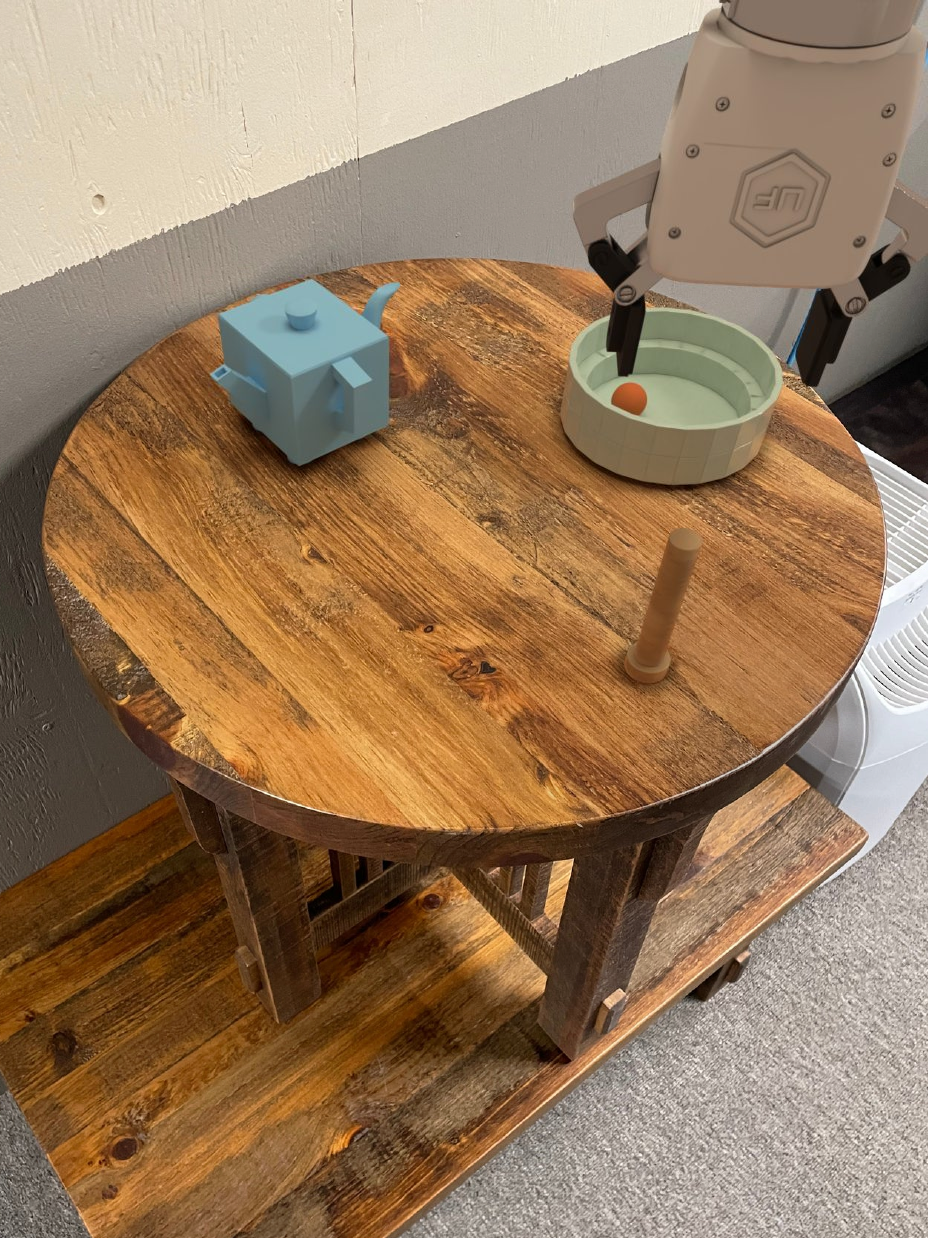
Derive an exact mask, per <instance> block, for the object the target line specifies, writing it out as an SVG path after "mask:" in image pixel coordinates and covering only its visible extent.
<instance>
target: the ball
mask: <svg viewBox="0 0 928 1238" xmlns="http://www.w3.org/2000/svg"><path fill="white" fill-rule="evenodd" d="M611 404H612V405H614V406H616V407H618V408H620V409H622V410H624V411H626V412H629V413H631V414H633V415H637V416H639V415H640V414H641V413H642V412H643V411H644V409H645V407H646V405H647V394H646V392H645V390H644V389H643V387H641V386H640V385H639V384H637V383H633V382H628V383H624V384H622V385H620V386H619V387H618V388H617V389H616V390H615V391H614V393H613V395H612V398H611Z"/></svg>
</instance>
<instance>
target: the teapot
mask: <svg viewBox="0 0 928 1238" xmlns="http://www.w3.org/2000/svg"><path fill="white" fill-rule="evenodd" d="M400 287H401V283H400V282H395V281H394V282H389V283H386V284H384V285H382V286H380V287H378V288H377V289H376V290H375V291H374V292H373V293H372V294H371V295H370V296H369V299H368V300H367V302H366V304H365V306H364V308H363V311H362V313H361V314H360V313H359V312H357V311H356V310H355V309H354V308H352V307H351V306H350V305H348V303H346V302H344V301H343V300H342V299H340V298H339V297H338V296H336V295H335V294H334V293H332V292H331V291H329V290H328V289H327V288H326V287H324V286H323V285H322V284H320V283H319V282H317V281H316V280H315V279H313V278H310V279H308V280H306V281H302V282H300V283H297V284H294V285H292V286H289V287H286V288H284V289H281V290H277V291H275V292H273V293H270V294H268V293H261V294H258V295H256V296H254V297H252V298H251V299H250V301H249V302H246V303H244V304H241V305H239V306H236V307H234V308H231V309H228V310H226V311H222V312H219V313H218V314H217V322H218V328H219V334H220V335H219V336H220V342H221V348H222V356H223V364H221V365H220V366H219V367H218V368H216V369H215V370H214V371H212V372H210V374H209V377H211V378H212V380H213V381H215V382H216V383H217V384H218V385H219V386H221V387H222V388H223V389H225V390H226V391H227V392H228V394H229V395H228V396H229V402H230V404H231V405H232V406H234V408H236V409H237V410H238V411H239V412H240V413H241V414H242V415H243V416H244V417H245V418H246V419H247V420H248V421H250V423H252V428H254V429H255V430H256V431H259V432H261V433H262V434H263V435H264V436H266V438H268V439H269V440H270V441H271V442H272V443H273V444H274V445H275V446H276V447H277V448H278V449H280V450H281V451H282V452H283V453H284V454H285V456H287V460H288V461H289V462H290V463H291V464H294V465H295V464H296V466H298V467H300V466H303V465H306V464H309V463H311V462H312V461H313V460H315V459H318V458H320V457H322V456H324V455H326V454H329V453H330V452H333V451H335V450H338V449H340V448H342V447H344V446H347V445H349V444H351V443H353V442H355V441H357V440H362V439H364V438H365V437H366V436H368V435H371V434H373V433H375V432H377V431H379V430H382V429H383V428H384V429H385V428H386V427H388V426H389V425H390V338H389V336H388V334H386V333H385V332H383V331H382V330H381V324H382V319H383V315H384V311H385V308H386V306H387V304H388V302H389V300H390V299H391V298H392V297H393V296H394V294H396V292H398V290H399V289H400Z"/></svg>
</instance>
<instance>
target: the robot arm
mask: <svg viewBox="0 0 928 1238" xmlns="http://www.w3.org/2000/svg"><path fill="white" fill-rule="evenodd" d="M921 2H922V0H718V3H719V4H721V6H720V7H717V8H712V9H710V10H709V11H708V12H707V13H706V14H705V15H704V17H703V20H702V22H701V24H700V26H699V29H698V31H697V33H696V36H695V38H694V41H693V43H692V46H691V49H690V51H689V54H688V57H687V60H686V62H685V64H684V67H683V69H682V73H681V76H680V79H679V82H678V85H677V89H676V91H675V95H674V98H673V101H672V106H671V108H670V112H669V114H668V119H667V121H666V125H665V129H664V132H663V136H662V140H661V144H660V147H659V150H658V154H657V158H656V159H653V160H652V161H649V162H647V163H645V164H642V165H640V166H637V167H635V168H633V169H631V170H629V171H627V172H625V173H622V174H620V175H618V176H616V177H613V178H611V179H609V180H606V181H604V182H602V183H601V184H600V183H599V184H597V185H595V186H594V187H591V188H589V189H587V190H584V191H582V192H581V193H578V194H577V195H575V197H574V199H573V201H572V218H573V222H574V224H575V227H576V231H577V233H578V236H579V238H580V241H581V243H582V247H583V248H584V251H585V253H586V256H587V261H588V264H589V266H590V268H591V269H593V272H595V273H596V275H597V276H598V277H599V278H600V279H601V281H603V282H604V284H605V285H606V287H607V288H608V289H609V290H610V291H611V293H612V294H613V298H612V299H613V300H612V304H611V308H610V309H611V310H610V314H609V315H610V319H609V325H608V330H607V338H606V351H607V352H616V358H617V371H618V376H621V377H628V376H629V374H632V373H633V369H634V364H635V360H636V355H637V351H638V346H639V341H640V337H641V332H642V327H643V323H644V318H645V313H646V308H647V307H646V306H647V305H646V297H645V295H646V293H647V292H648V291H649V290H650V289H652V288H653V287H655V285H656V284H657V283H659V282H660V281H662V279H667V280H669V281H673V282H679V283H685V284H701V285H718V286H734V287H753V288H754V287H756V288H776V289H777V288H778V289H795V290H797V289H799V290H817V291H816V293H815V296H814V298H813V301H812V304H811V307H810V309H809V312H808V315H807V318H806V321H805V323H804V326H803V329H802V332H801V334H800V337H799V340H798V343H797V346H796V349H795V352H794V357H795V362H796V366H797V369H798V372H799V376H800V380H801V384H803V385H805V387H807V388H817V387H819V385H820V382H821V379H822V377H823V374H824V372H825V369H826V366H827V364H828V365H833V364H834V363H836V361H837V358H838V356H839V354H840V351H841V348H842V346H843V343H844V341H845V338H846V336H847V334H848V331H849V328H850V325H851V323H852V321H853V318H856V317H859V316H861V315H863V314H864V313H865V312H866V311H867V309H868V307H869V305H870V302H871V301H873V300H874V299H876V298H878V297H880V296H881V295H883V294H884V293H885V292H887V291H889V290H890V289H892V288H893V287H895V286H897V285H899V284H900V283H901V282H903V281H905V280H906V279H907V277H908V276H909V275H910V273H911V268H913V267H914V265H915V264H916V263H919V262H921V261H922V259H924V257H926V255H928V199H926V198H924V197H923V196H921V195H920V194H919V193H918V192H916V191H914V190H913V189H911V188H910V187H909V186H908V185H906V184H905V183H904V182H902V181H901V180H899V179H898V174H899V171H900V168H901V164H902V160H903V156H904V153H905V149H906V146H907V143H908V138H909V134H910V131H911V127H912V123H913V119H914V115H915V111H916V106H917V103H918V98H919V93H920V88H921V84H922V80H923V74H924V69H925V64H926V56H927V51H928V40H927V38H926V37H925V36H924V35H923V34H922V33H921V32H920V31H919V29H918V28H917V27H916V26H915V25H914V21H915V18H916V15H917V13H918V9H919V7H920V4H921ZM644 205H646V208H645V217H644V223H645V227H646V231H645V232H644V233H642V235H641V236H639V237H638V238H637V239H636V240H634V242H632V243H631V244H630V245H629V246H628V247H627V248H626V249H623V248H622V247H621V245H620V244H619V243H618V242H617V240H615V238H614V237H613V235H612V234H611V233H610V231H609V229H608V228H609V227H608V223H609V222H610V220H612V219H614V218H616V217H618V216H621V215H623V214H625V213H627V212H630V211H633V210H635V209H637V208H640V207H642V206H644ZM885 219H887V220H889V222H891V223H892V224H894V225H895V226H897V227H898V228H900V232H899V233H898V234H896V235H895V237H894V240H893V241H892V242H891V243H888V244H886V245H883V246H882V247H881V248H879V249H878V250H876V251H875V252H874V249H875V246H876V244H877V242H878V238H879V235H880V233H881V230H882V227H883V224H884V220H885Z"/></svg>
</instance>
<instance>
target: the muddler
mask: <svg viewBox="0 0 928 1238" xmlns="http://www.w3.org/2000/svg"><path fill="white" fill-rule="evenodd" d="M702 545H703V538H702V536H701V534H700V533H699V532H697V531H696V530H695V529H692V528H688V527H679V528H678V527H677V528H675V529H672V531H671V532H670V533H669V535H668V537H667V541H666V544H665V548H664V551H663V555H662V558H661V562H660V565H659V568H658V571H657V575H656V578H655V582H654V585H653V587H652V591H651V595H650V598H649V602H648V606H647V610H646V613H645V615H644V619H643V623H642V626H641V630H640V632H639V636H638V639H637V641H636V642H633V643H632V644H631V645H630V646H629V647H628V648H627V651H626V654H625V658H624V660H623V667H624V669H625V672H626V674H627V675H628V676H629V677H630V678H631V679H633V680H634V681H636V682H638V683H642V684H656V683H659V682H660V681H662V680H664V678H665V677H666V676H667V674H668V671H669V669H670V665H671V663H672V661H671V660H672V658H671V654H670V651H668V647H669V645H670V642H671V639H672V636H673V633H674V629H675V626H676V623H677V620H678V618H679V615H680V611H681V608H682V606H683V602H684V600H685V596H686V593H687V590H688V588H689V585H690V581H691V578H692V575H693V573H694V569H695V567H696V563H697V561H698V557H699V554H700V551H701V548H702Z"/></svg>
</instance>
